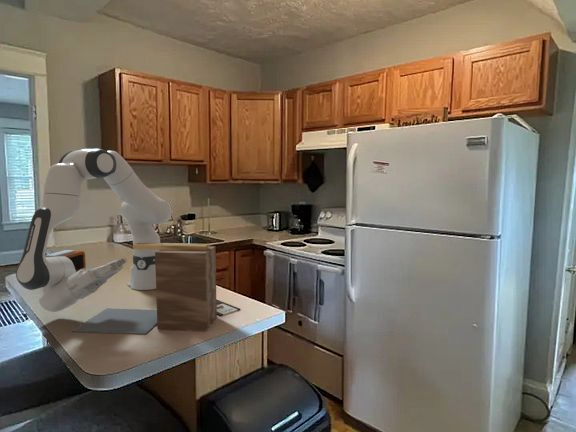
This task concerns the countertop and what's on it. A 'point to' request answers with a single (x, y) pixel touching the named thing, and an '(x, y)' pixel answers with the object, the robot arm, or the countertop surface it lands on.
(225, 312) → the chocolate bar
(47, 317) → the countertop surface
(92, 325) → the rubber mat
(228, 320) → the countertop surface
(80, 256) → the alarm clock
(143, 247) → the ochre block
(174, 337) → the countertop surface
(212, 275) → the walnut shelf
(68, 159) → the robot arm
